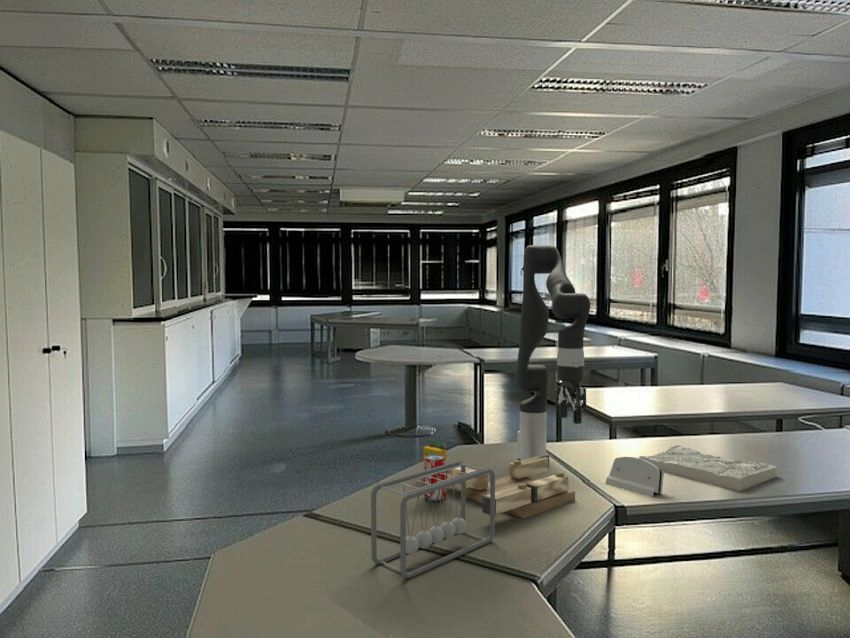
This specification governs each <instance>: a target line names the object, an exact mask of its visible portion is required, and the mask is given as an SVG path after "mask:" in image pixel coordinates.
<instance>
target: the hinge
mask: <svg viewBox="0 0 850 638" xmlns="http://www.w3.org/2000/svg"><path fill="white" fill-rule="evenodd" d="M664 475H665V472H664V471H663V470H662V469H661V468H659V467H658V466H656V465H655V464H653V463H651V462H649V461H646V460H643V459H640V458H639V457H635V456H619V457H616V458H615V459H614V460H613V463H612V466H611V469H610V472H609V473H608V476H607V477H606V480H605V483H606V484H607V485H609V486H612V485H613V486H612V487H616V486H617V487H616V488H619V487H620V488H619V489H622V488H624V489H623V490H626V489H627V490H626V491H629V490H631V491H630V492H633V491H634V492H633V493H636V492H638V493H637V494H639V493H640V495H643V496H646V495H647V497H650V498H653V497H654V493H656V494H659V495H662V494H663V486H664Z"/></svg>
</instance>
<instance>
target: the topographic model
mask: <svg viewBox="0 0 850 638" xmlns="http://www.w3.org/2000/svg"><path fill="white" fill-rule="evenodd" d="M638 458H640V459H643V460H646V461H649V462H651V463H653V464H655V465H656V466H658V467H659V468H661V469H662V470H663V472H664V471H665V472H664V473H668V474H672V475H675V474H676V475H675V476H679V475H680V477H683V476H684V478H686V479H687V478H688V479H691V480H695V481H699V480H700V481H699V482H702V483H706V482H707V484H710V483H712V484H711V485H714V484H715V486H719V487H723V488H725V489H731V490H734V491H738V492H740V491H742V490H743V491H744V490H746V489H748V488H751V487H754V486H756V485H758V484H761V483H763V482H767V481H769V480H771V479H774V478H777V476H778V473H777V472H778V470H777V469H778V466H777V465H776V466H775V465H772V464H768V461H767V460H765V462H763V463H762V462H756V461H749V462H748V461H747V462H746V461H742V460H739V459H736V460H733V459H728V458H724V457H721V456H717V455H716V456H714V455H712V454H703V453H701V452H699V451H697V450H694V449H692V448H691V447H685V446H682V445H679V444H678V445H677V444H676V445H675V446H671V447H670V448H668V450H666V451H663V452H661V453H660V452H659V453H657V454H654V455H651V456H650V455H647V456H646V455H640V456H639V457H638Z"/></svg>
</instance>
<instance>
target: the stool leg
mask: <svg viewBox="0 0 850 638" xmlns="http://www.w3.org/2000/svg"><path fill="white" fill-rule="evenodd" d="M535 480H536V481H533V482H529V483H524V484H527V487H529V488H531V501H533V502H537V501H538V500H541V499H544V498H547V497H550V496H553V495H556V494H559V493H562V492H565V491H568V489H569V476H568V475H565V472H562V471H556V472H555V474H553V475H549V476H547V477H542V478H539V479H535Z"/></svg>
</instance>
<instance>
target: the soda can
mask: <svg viewBox="0 0 850 638" xmlns="http://www.w3.org/2000/svg"><path fill="white" fill-rule="evenodd" d="M446 464H447V460H446V461H445V458H444V456H442V455H428V456H426V459H425V461H424V460H423V471H425V470H428V469H432V468H435V467H439V466H442V465H446ZM442 473H443V474H442ZM440 474H441V479H440ZM445 474H446V471H444V472H441V473H438V474H434V475H431V476H430V477H429V480H428V477H424V478H423V480H424V481H423V483H424V482H425V483H424V485H423V487H425V486H428V485H429V483H430V484H434V483H437V482H440V481H442V480H443V481H444V480H446V475H445ZM432 477H433V478H432ZM435 478H436V479H435ZM438 479H440V480H438ZM427 483H428V484H427ZM440 484H441V483H440ZM437 485H438V484H437ZM424 489H425V488H424ZM441 494H442V489H439V490H436V491H433V492H431V496H430V493H427V494H424V497H425V498H426V499H427V500H428V501H429V498H430V501H431V498H432V502H438V501H442V500H443V497H444V498H446V497H447V487H446V488H443V494H442V499H441Z"/></svg>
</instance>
